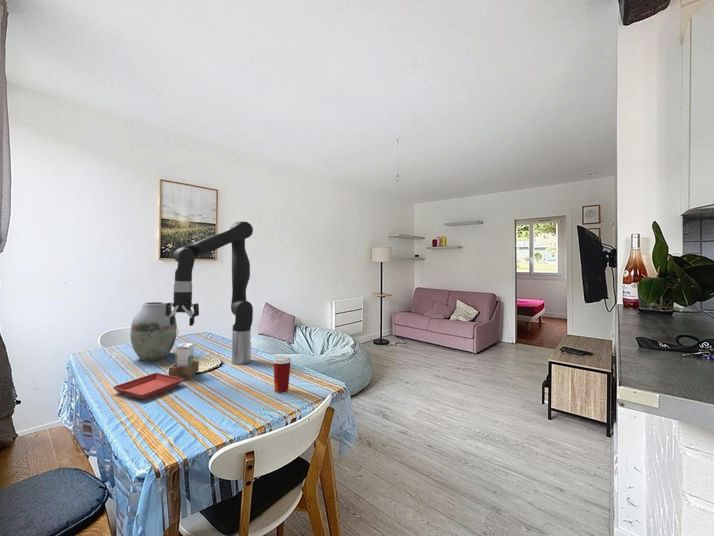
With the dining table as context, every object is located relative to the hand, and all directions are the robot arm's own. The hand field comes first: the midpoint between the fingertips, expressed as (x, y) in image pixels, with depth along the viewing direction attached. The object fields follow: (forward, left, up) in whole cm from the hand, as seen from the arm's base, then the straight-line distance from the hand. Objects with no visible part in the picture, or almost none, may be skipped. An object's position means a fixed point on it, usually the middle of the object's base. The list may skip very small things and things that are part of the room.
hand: (181, 325), depth 143 cm
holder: (-1, 0, -24) cm, 24 cm away
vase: (+25, -30, -24) cm, 46 cm away
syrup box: (-1, 0, -24) cm, 24 cm away
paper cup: (-47, +22, -24) cm, 57 cm away
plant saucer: (+7, +15, -24) cm, 29 cm away
